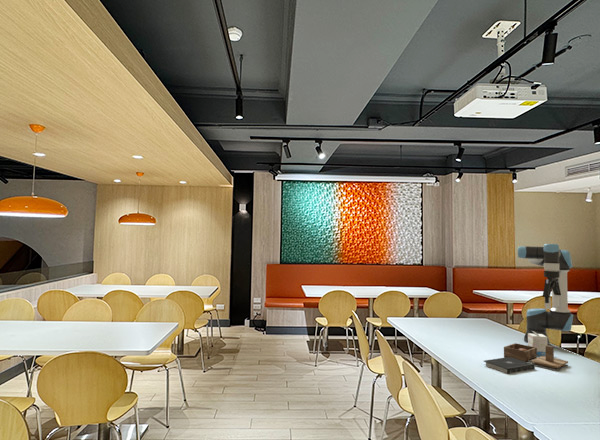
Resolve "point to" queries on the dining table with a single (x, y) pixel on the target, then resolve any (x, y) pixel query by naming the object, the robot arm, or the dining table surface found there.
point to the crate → (520, 352)
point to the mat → (550, 367)
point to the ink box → (538, 343)
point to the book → (509, 365)
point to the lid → (549, 359)
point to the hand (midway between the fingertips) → (552, 307)
